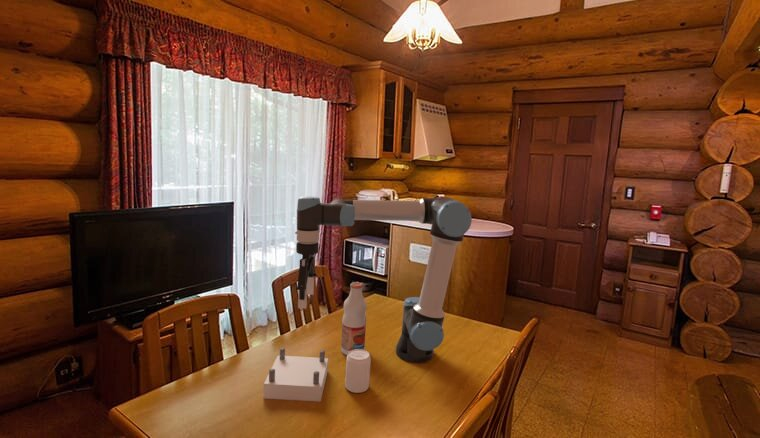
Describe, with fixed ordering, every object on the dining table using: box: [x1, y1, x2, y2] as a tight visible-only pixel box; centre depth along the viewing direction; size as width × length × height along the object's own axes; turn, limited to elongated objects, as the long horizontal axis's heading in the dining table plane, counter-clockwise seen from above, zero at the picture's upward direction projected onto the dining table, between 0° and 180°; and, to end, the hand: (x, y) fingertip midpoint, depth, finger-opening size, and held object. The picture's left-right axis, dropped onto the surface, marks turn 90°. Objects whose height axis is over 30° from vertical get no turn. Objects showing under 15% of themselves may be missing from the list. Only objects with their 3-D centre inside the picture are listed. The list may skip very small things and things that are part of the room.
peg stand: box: [263, 347, 329, 402], centre depth 134 cm, size 18×18×8 cm
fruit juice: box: [340, 281, 368, 356], centre depth 157 cm, size 9×9×28 cm
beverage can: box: [344, 349, 372, 394], centre depth 134 cm, size 8×8×12 cm
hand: (306, 300), depth 140 cm, fingers open, 13 cm apart
